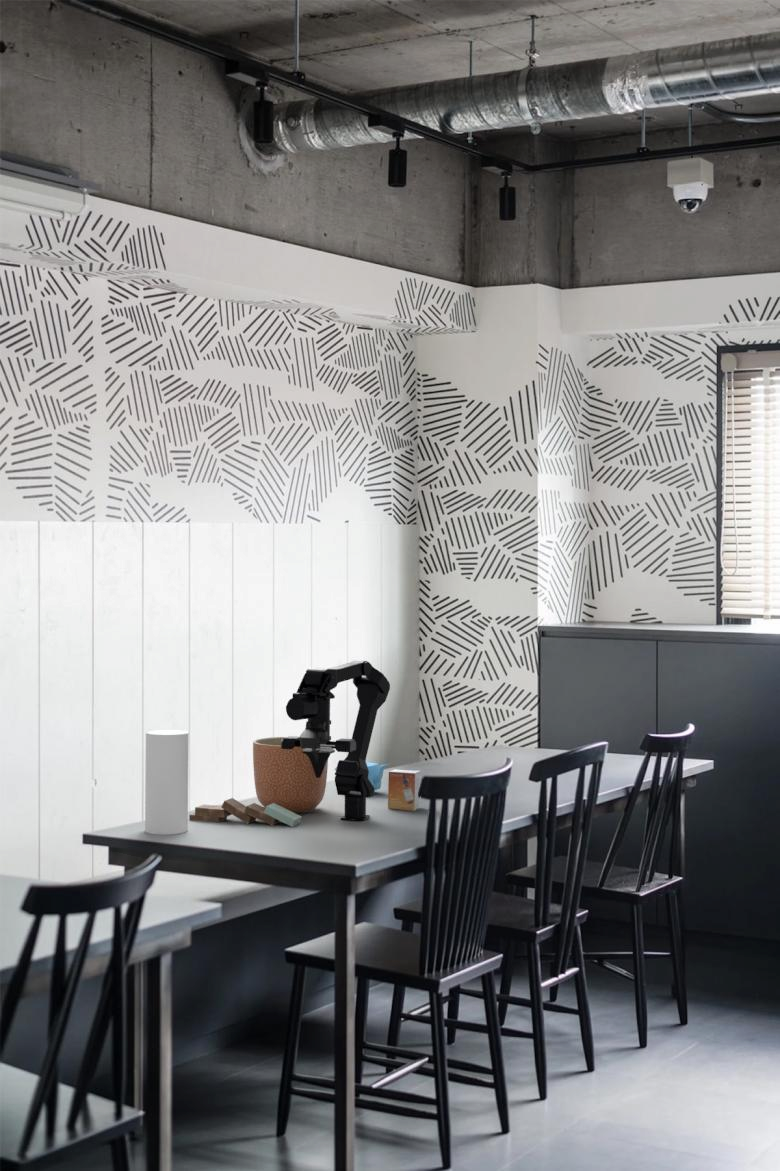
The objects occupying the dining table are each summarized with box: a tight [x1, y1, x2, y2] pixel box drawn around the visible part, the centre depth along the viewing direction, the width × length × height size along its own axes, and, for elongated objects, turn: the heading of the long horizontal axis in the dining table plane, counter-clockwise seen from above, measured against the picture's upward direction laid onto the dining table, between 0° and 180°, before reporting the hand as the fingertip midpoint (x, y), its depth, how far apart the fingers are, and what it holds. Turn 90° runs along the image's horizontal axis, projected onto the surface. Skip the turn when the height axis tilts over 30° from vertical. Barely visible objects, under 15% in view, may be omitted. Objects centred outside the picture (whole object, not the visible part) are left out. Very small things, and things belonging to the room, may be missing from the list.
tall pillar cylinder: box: [144, 729, 189, 836], centre depth 362 cm, size 11×11×25 cm
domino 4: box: [244, 802, 281, 826], centre depth 375 cm, size 2×5×8 cm
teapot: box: [334, 762, 388, 794], centre depth 426 cm, size 18×14×10 cm
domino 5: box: [264, 803, 302, 828], centre depth 373 cm, size 2×5×8 cm
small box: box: [387, 768, 422, 811], centre depth 399 cm, size 8×6×10 cm
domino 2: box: [188, 812, 228, 823], centre depth 379 cm, size 2×5×8 cm
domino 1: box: [194, 804, 233, 818], centre depth 379 cm, size 2×5×8 cm
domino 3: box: [221, 797, 257, 825], centre depth 377 cm, size 2×5×8 cm
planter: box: [252, 736, 329, 814], centre depth 395 cm, size 21×21×19 cm
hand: (318, 777), depth 368 cm, fingers closed
